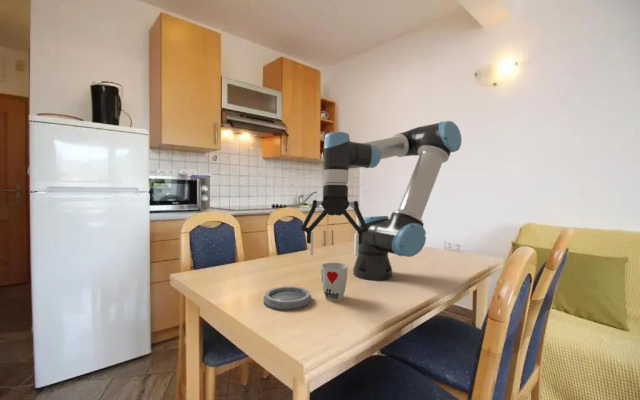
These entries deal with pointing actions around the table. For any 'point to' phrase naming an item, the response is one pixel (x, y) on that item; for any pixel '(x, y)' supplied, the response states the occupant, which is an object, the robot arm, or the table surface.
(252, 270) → the table surface
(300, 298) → the tray
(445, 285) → the table surface
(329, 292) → the cup
